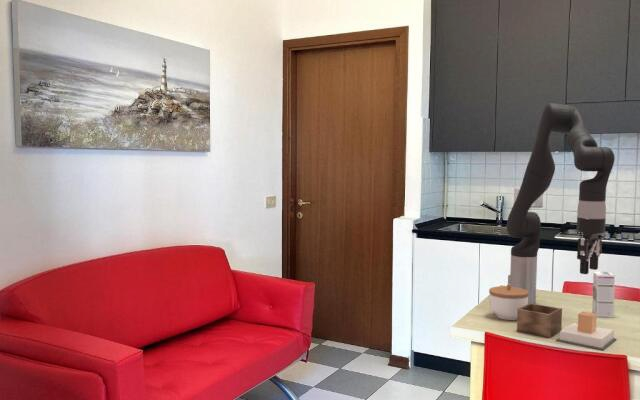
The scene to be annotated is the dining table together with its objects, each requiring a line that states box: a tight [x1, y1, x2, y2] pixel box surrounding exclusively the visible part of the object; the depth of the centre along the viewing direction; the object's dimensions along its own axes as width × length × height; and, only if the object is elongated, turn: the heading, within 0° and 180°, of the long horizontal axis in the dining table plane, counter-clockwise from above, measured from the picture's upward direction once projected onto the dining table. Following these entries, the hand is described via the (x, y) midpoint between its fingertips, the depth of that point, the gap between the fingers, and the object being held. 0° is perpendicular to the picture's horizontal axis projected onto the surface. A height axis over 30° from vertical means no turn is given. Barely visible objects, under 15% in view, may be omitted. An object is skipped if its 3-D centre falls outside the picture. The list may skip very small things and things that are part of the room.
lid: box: [559, 311, 614, 348], centre depth 178 cm, size 12×12×8 cm
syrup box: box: [591, 271, 616, 318], centre depth 206 cm, size 6×6×14 cm
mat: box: [555, 337, 617, 351], centre depth 178 cm, size 13×13×1 cm
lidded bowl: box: [488, 283, 529, 321], centre depth 203 cm, size 13×13×11 cm
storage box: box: [516, 303, 563, 339], centre depth 187 cm, size 10×10×7 cm
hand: (588, 271), depth 176 cm, fingers open, 8 cm apart
